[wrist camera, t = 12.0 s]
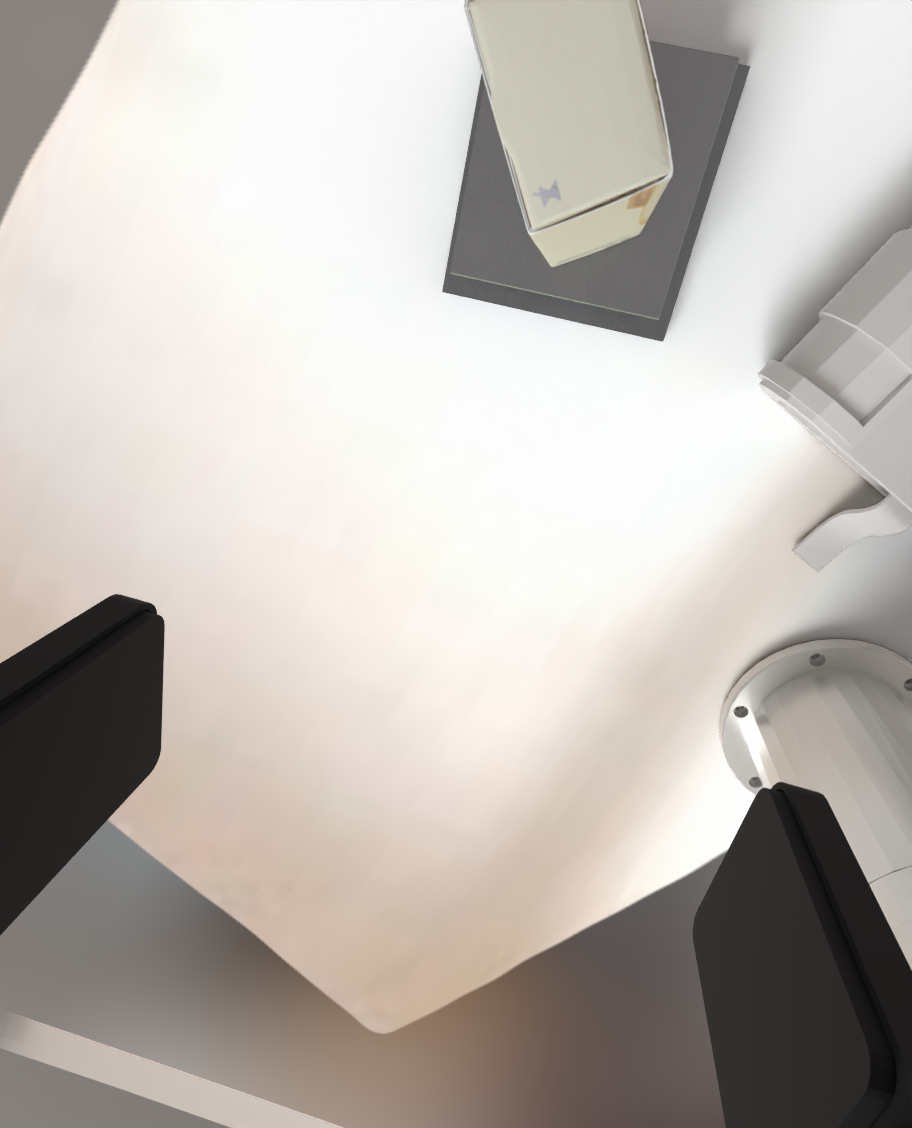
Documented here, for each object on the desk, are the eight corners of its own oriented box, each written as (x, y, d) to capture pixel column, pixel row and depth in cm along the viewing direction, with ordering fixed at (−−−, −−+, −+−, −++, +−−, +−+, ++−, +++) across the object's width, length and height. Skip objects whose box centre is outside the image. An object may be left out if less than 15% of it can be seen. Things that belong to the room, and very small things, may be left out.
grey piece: (744, 73, 30) (774, 31, 26) (660, 340, 35) (672, 345, 30) (494, 26, 31) (479, -22, 27) (445, 292, 36) (426, 290, 31)
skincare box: (643, 234, 29) (683, 189, 18) (549, 270, 30) (529, 250, 19) (606, 71, 27) (624, -94, 16) (507, 117, 28) (458, -7, 17)
